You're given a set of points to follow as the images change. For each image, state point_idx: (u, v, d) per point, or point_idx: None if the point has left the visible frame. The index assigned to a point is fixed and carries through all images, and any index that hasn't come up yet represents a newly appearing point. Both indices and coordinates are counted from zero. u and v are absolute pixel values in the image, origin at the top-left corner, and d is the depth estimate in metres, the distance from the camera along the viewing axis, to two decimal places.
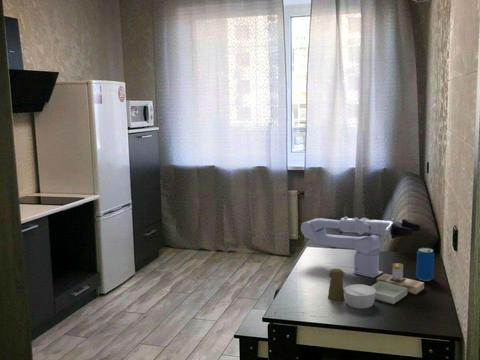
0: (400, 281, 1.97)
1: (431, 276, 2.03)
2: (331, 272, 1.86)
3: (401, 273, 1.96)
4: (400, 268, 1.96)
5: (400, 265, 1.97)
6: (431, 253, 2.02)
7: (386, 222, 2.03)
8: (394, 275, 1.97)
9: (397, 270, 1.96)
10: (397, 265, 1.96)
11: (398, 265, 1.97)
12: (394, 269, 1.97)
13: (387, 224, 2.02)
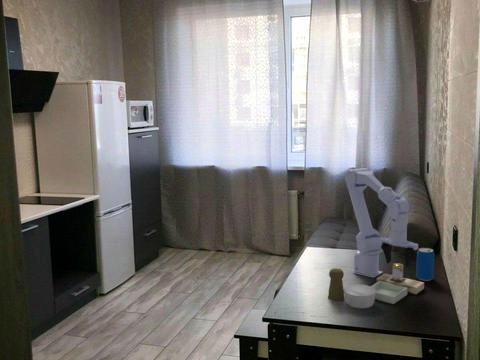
0: (400, 281, 1.97)
1: (431, 276, 2.03)
2: (331, 272, 1.86)
3: (401, 273, 1.96)
4: (400, 268, 1.96)
5: (400, 265, 1.97)
6: (431, 253, 2.02)
7: (392, 236, 1.95)
8: (394, 275, 1.97)
9: (397, 270, 1.96)
10: (397, 265, 1.96)
11: (398, 265, 1.97)
12: (394, 269, 1.97)
13: (391, 238, 1.96)
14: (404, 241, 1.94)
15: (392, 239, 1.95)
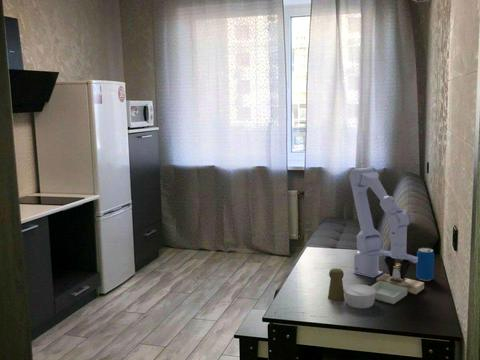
0: (400, 281, 1.97)
1: (431, 276, 2.03)
2: (331, 272, 1.86)
3: None
4: (400, 268, 1.96)
5: (400, 265, 1.97)
6: (431, 253, 2.02)
7: (392, 249, 1.96)
8: (394, 275, 1.97)
9: (397, 270, 1.96)
10: (397, 265, 1.96)
11: (398, 265, 1.97)
12: (394, 269, 1.97)
13: (390, 251, 1.97)
14: (404, 254, 1.94)
15: (392, 252, 1.96)
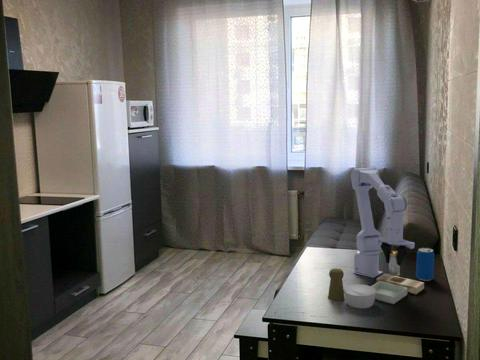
0: (397, 269, 1.92)
1: (431, 276, 2.03)
2: (331, 272, 1.86)
3: None
4: (397, 256, 1.91)
5: (397, 252, 1.92)
6: (431, 253, 2.02)
7: (388, 235, 1.91)
8: (391, 263, 1.93)
9: (394, 257, 1.91)
10: (394, 253, 1.92)
11: (395, 253, 1.92)
12: (391, 257, 1.92)
13: (387, 236, 1.92)
14: (400, 240, 1.90)
15: (388, 238, 1.91)
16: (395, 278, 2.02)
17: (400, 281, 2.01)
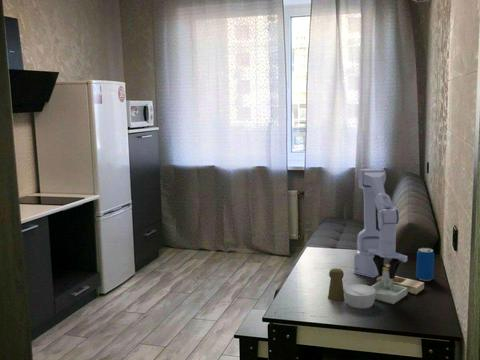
0: (390, 283, 1.88)
1: (431, 276, 2.03)
2: (331, 272, 1.86)
3: None
4: None
5: None
6: (431, 253, 2.02)
7: (380, 248, 1.86)
8: (383, 277, 1.88)
9: (387, 271, 1.87)
10: (386, 267, 1.87)
11: (387, 266, 1.88)
12: (383, 271, 1.87)
13: (379, 249, 1.87)
14: (393, 253, 1.85)
15: (380, 250, 1.86)
16: (395, 278, 2.02)
17: (400, 281, 2.01)
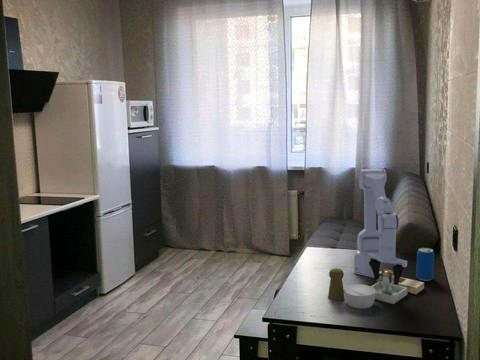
0: (390, 288, 1.88)
1: (431, 276, 2.03)
2: (331, 272, 1.86)
3: (391, 280, 1.88)
4: (390, 275, 1.87)
5: (389, 272, 1.88)
6: (431, 253, 2.02)
7: (380, 253, 1.86)
8: (383, 282, 1.88)
9: (387, 276, 1.87)
10: (386, 272, 1.88)
11: (387, 272, 1.88)
12: (383, 276, 1.88)
13: (379, 254, 1.87)
14: (393, 258, 1.85)
15: (380, 255, 1.86)
16: None
17: (400, 281, 2.01)
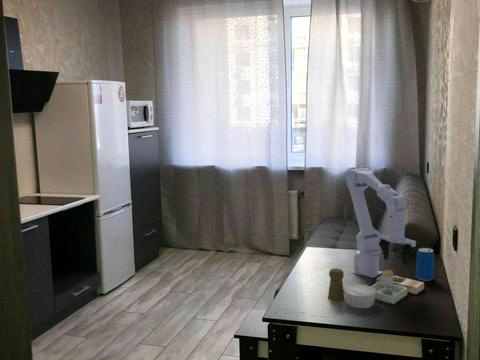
0: (390, 288, 1.88)
1: (431, 276, 2.03)
2: (331, 272, 1.86)
3: (391, 280, 1.88)
4: (390, 275, 1.87)
5: (390, 272, 1.88)
6: (431, 253, 2.02)
7: (390, 233, 1.94)
8: (383, 282, 1.88)
9: (387, 276, 1.87)
10: (386, 272, 1.88)
11: (387, 272, 1.88)
12: (383, 276, 1.88)
13: (389, 234, 1.95)
14: (402, 238, 1.93)
15: (390, 236, 1.94)
16: (395, 278, 2.02)
17: (400, 281, 2.01)
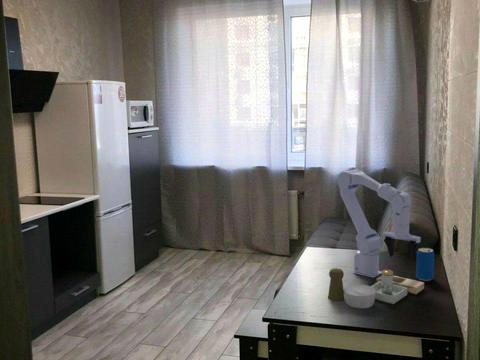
0: (390, 288, 1.88)
1: (431, 276, 2.03)
2: (331, 272, 1.86)
3: (391, 280, 1.88)
4: (390, 275, 1.87)
5: (390, 272, 1.88)
6: (431, 253, 2.02)
7: (395, 230, 1.98)
8: (383, 282, 1.88)
9: (387, 276, 1.87)
10: (387, 272, 1.88)
11: (388, 272, 1.88)
12: (383, 276, 1.88)
13: (394, 231, 1.99)
14: (407, 234, 1.97)
15: (395, 233, 1.98)
16: (395, 278, 2.02)
17: (400, 281, 2.01)
